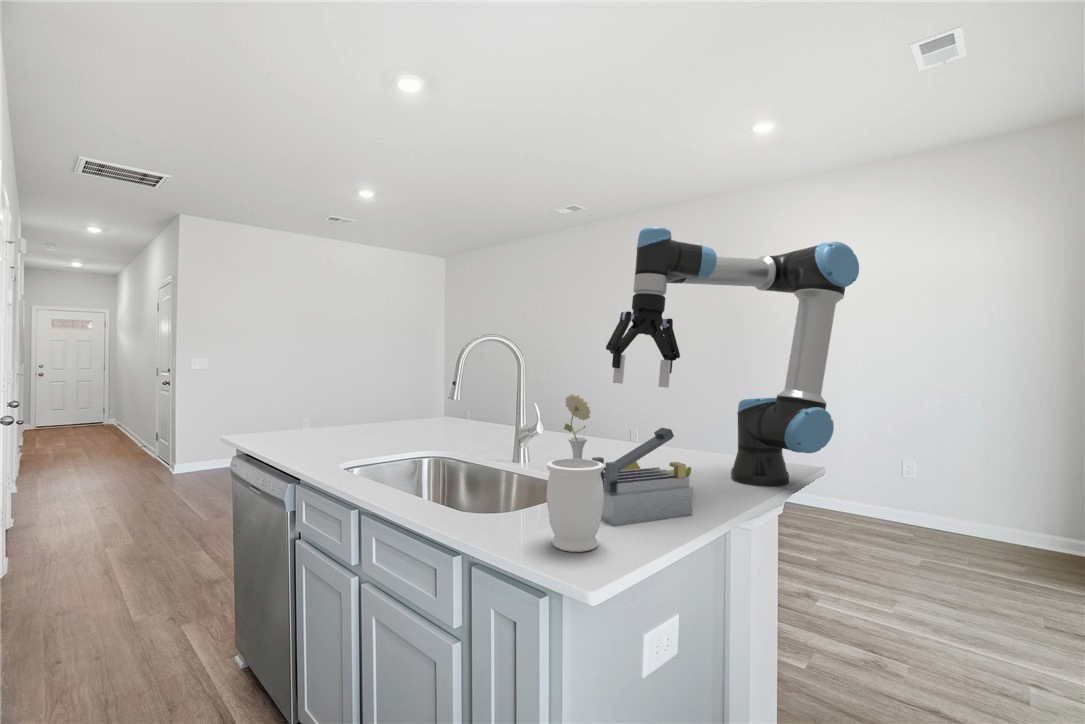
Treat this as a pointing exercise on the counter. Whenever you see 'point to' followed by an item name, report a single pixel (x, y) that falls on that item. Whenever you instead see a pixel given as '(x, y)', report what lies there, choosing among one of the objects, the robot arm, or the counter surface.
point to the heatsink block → (644, 493)
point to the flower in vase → (582, 412)
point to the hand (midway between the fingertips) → (641, 385)
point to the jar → (575, 503)
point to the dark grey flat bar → (644, 448)
